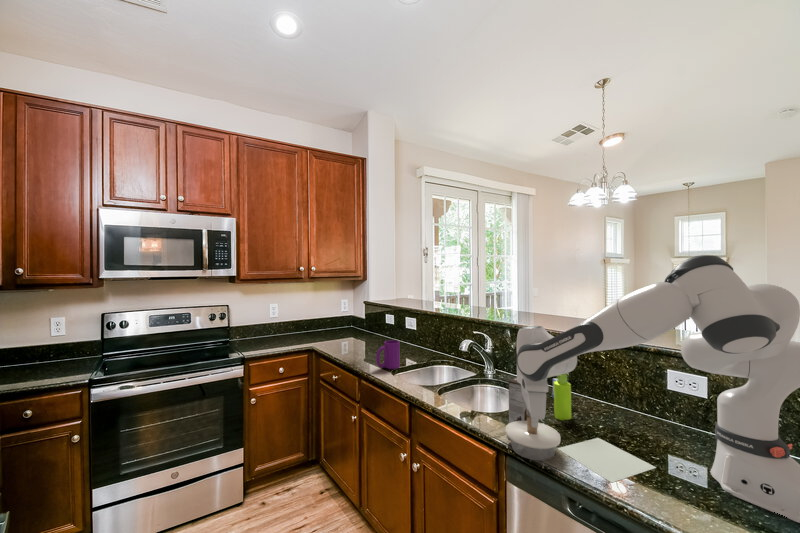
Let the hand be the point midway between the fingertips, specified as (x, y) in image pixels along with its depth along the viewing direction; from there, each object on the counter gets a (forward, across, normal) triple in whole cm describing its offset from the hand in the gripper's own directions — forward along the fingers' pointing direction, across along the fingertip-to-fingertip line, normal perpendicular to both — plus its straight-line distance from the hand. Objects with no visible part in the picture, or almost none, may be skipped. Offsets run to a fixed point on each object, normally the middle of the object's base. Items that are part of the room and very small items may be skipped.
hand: (532, 421), depth 104 cm
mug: (+9, -76, -66) cm, 101 cm away
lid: (+4, 0, 0) cm, 4 cm away
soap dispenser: (+9, -27, +16) cm, 33 cm away
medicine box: (+9, -44, +19) cm, 49 cm away
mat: (+9, +1, +20) cm, 22 cm away
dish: (+10, 0, 0) cm, 10 cm away
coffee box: (+9, -19, 0) cm, 21 cm away
